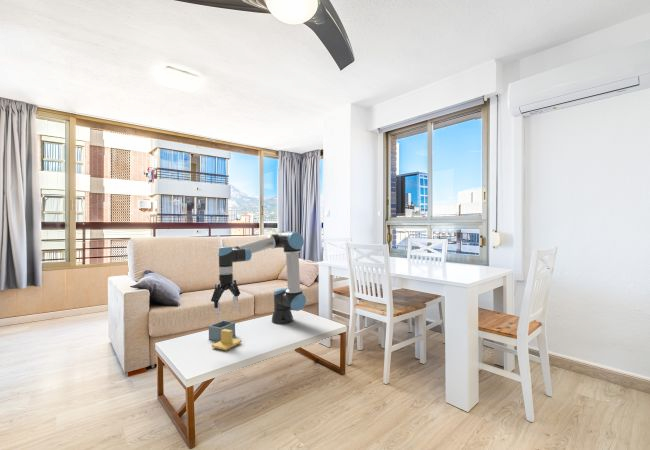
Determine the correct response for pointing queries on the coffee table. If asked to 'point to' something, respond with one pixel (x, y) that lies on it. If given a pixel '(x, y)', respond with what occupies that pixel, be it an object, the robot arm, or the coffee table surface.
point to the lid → (226, 340)
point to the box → (217, 327)
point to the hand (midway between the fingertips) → (226, 310)
